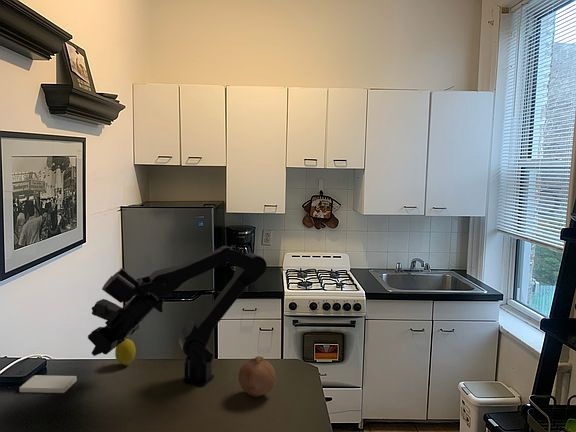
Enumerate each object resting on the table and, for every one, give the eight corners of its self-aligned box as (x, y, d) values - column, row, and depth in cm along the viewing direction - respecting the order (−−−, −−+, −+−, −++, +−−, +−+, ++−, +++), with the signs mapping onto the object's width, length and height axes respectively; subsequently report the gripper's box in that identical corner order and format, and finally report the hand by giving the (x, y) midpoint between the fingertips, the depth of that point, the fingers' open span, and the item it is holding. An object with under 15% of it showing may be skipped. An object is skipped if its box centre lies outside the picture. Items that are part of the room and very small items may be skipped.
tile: (76, 376, 120) (34, 375, 120) (64, 388, 113) (19, 387, 113) (76, 382, 121) (34, 381, 120) (64, 394, 114) (19, 393, 113)
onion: (247, 384, 121) (248, 348, 120) (280, 391, 118) (281, 353, 117) (231, 400, 112) (232, 361, 111) (266, 407, 109) (267, 367, 108)
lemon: (129, 370, 128) (129, 342, 127) (111, 368, 129) (111, 340, 128) (139, 362, 133) (139, 336, 132) (122, 360, 134) (122, 334, 134)
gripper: (127, 282, 125) (88, 322, 126) (95, 297, 106) (50, 343, 107) (155, 311, 125) (117, 350, 126) (128, 331, 106) (83, 377, 107)
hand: (93, 354), depth 117 cm, fingers closed
